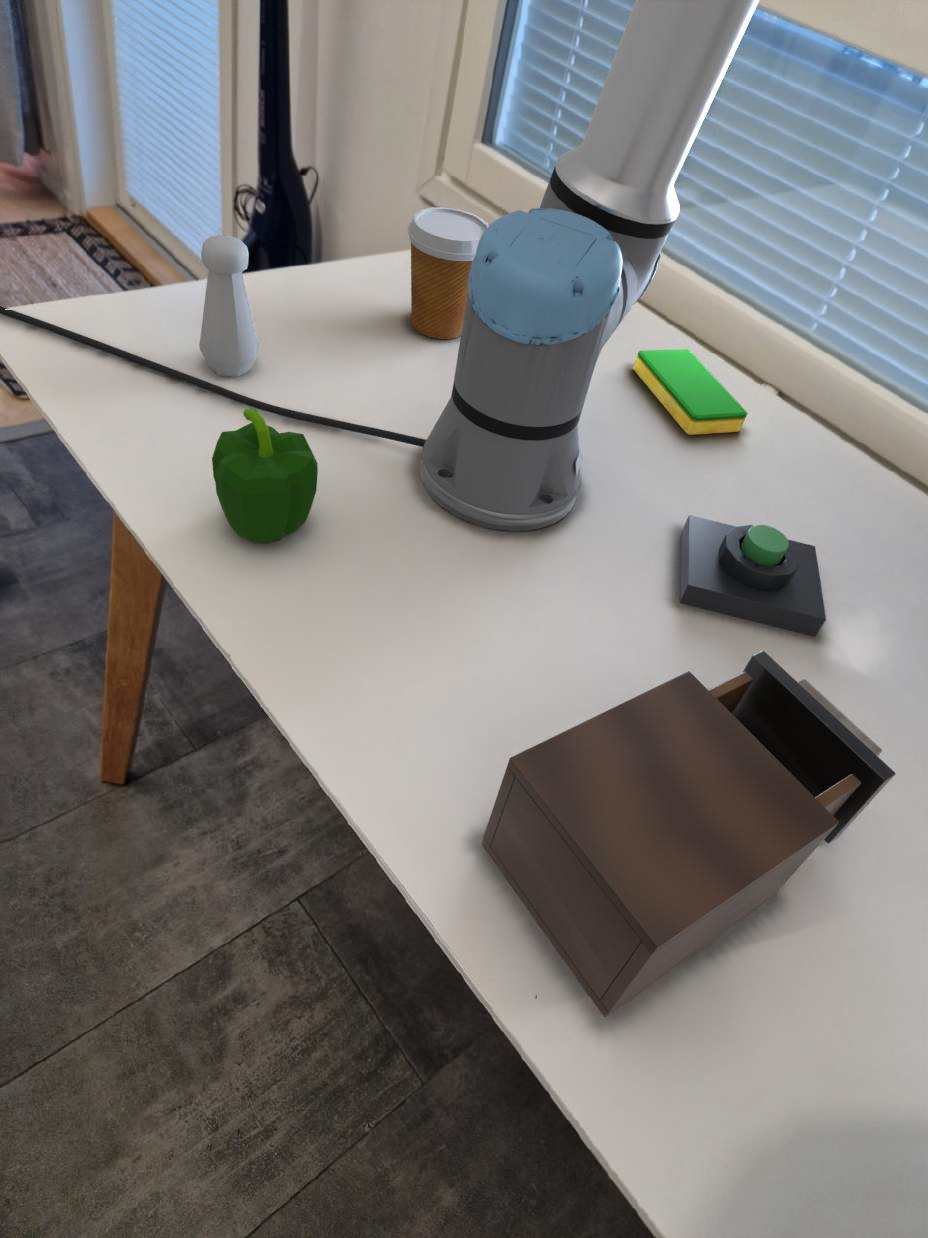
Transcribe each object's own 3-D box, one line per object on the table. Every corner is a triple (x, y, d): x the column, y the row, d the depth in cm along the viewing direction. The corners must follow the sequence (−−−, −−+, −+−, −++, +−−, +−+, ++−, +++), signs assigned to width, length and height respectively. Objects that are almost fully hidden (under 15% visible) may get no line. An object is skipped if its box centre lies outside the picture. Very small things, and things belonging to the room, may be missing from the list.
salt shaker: (270, 367, 91) (270, 244, 81) (232, 388, 87) (227, 261, 78) (228, 345, 92) (223, 222, 83) (188, 365, 89) (178, 238, 79)
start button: (741, 561, 75) (749, 546, 73) (739, 535, 77) (747, 520, 76) (782, 571, 75) (790, 556, 73) (779, 545, 77) (787, 530, 76)
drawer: (758, 698, 67) (801, 630, 62) (874, 812, 61) (934, 748, 56) (587, 790, 59) (619, 721, 53) (703, 932, 53) (753, 870, 47)
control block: (679, 603, 75) (695, 569, 72) (681, 532, 82) (695, 499, 79) (815, 637, 75) (836, 604, 72) (805, 563, 82) (824, 531, 79)
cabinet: (644, 756, 63) (689, 670, 56) (771, 899, 56) (839, 822, 49) (480, 843, 56) (509, 757, 49) (604, 1018, 49) (657, 947, 42)
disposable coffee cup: (477, 352, 100) (496, 248, 91) (394, 339, 99) (406, 234, 90) (477, 313, 106) (495, 213, 98) (400, 301, 105) (411, 199, 97)
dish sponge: (682, 366, 105) (689, 347, 103) (741, 432, 97) (749, 413, 95) (631, 368, 103) (637, 349, 101) (687, 436, 94) (694, 417, 92)
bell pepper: (323, 552, 72) (329, 454, 65) (221, 560, 70) (216, 458, 63) (306, 489, 78) (310, 392, 71) (211, 494, 75) (205, 394, 68)
